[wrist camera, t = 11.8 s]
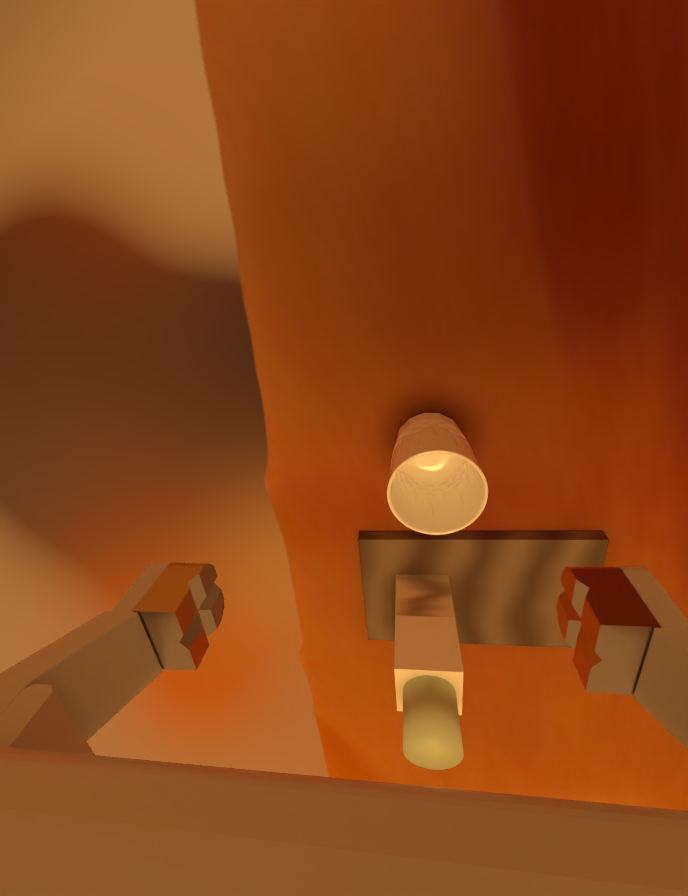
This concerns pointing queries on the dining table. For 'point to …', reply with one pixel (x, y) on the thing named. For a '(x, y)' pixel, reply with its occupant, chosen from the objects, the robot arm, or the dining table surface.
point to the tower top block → (427, 652)
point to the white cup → (435, 477)
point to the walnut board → (480, 579)
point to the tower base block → (423, 596)
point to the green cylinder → (431, 723)
